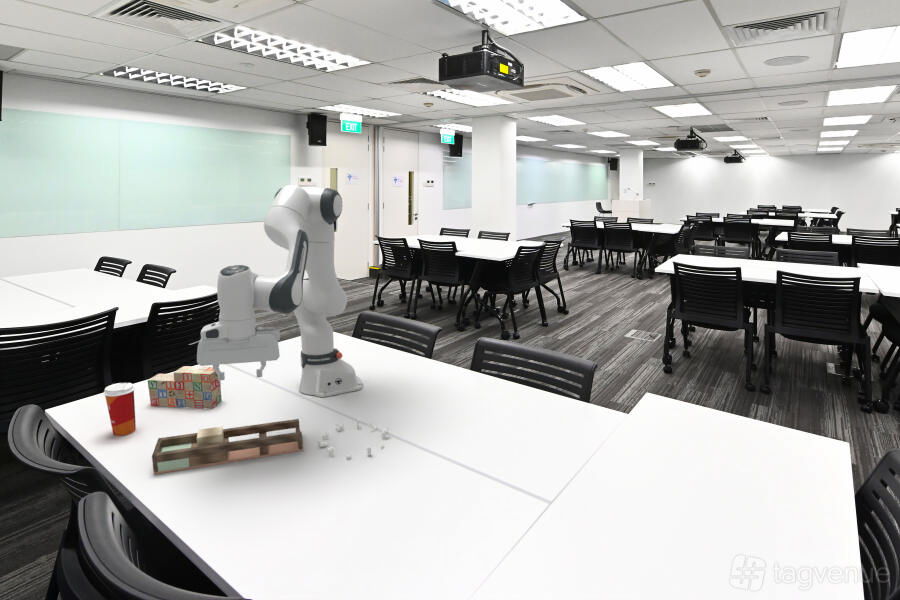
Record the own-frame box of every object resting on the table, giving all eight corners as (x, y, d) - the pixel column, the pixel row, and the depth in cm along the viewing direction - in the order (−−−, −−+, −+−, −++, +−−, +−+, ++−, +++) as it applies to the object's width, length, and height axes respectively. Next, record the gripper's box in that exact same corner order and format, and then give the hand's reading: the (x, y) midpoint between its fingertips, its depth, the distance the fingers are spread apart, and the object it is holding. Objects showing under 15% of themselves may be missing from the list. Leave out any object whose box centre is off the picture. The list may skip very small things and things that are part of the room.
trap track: (299, 434, 150) (298, 418, 149) (302, 450, 141) (301, 433, 140) (160, 455, 137) (158, 438, 136) (154, 474, 128) (151, 456, 127)
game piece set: (390, 427, 156) (390, 416, 155) (384, 461, 136) (384, 448, 135) (326, 427, 155) (325, 416, 154) (311, 462, 136) (310, 448, 135)
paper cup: (118, 425, 154) (112, 382, 151) (144, 425, 154) (139, 381, 152) (103, 438, 146) (96, 392, 143) (131, 437, 147) (125, 391, 144)
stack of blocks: (150, 406, 168) (145, 371, 165) (161, 399, 174) (157, 364, 172) (213, 409, 167) (209, 373, 164) (222, 401, 173) (219, 366, 170)
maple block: (223, 439, 140) (222, 426, 139) (223, 448, 135) (221, 434, 135) (199, 443, 138) (198, 429, 137) (198, 452, 133) (196, 437, 132)
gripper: (279, 322, 140) (281, 371, 143) (197, 327, 134) (200, 377, 136) (279, 328, 135) (281, 378, 137) (193, 333, 128) (197, 385, 131)
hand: (240, 378), depth 137 cm, fingers open, 8 cm apart
